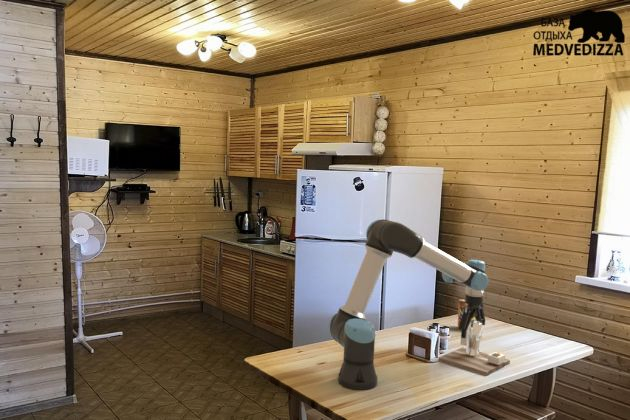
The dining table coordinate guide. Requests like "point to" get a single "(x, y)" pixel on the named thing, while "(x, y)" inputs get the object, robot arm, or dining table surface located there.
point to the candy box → (460, 310)
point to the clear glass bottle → (474, 338)
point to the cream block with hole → (496, 358)
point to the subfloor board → (471, 362)
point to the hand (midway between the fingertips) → (471, 341)
